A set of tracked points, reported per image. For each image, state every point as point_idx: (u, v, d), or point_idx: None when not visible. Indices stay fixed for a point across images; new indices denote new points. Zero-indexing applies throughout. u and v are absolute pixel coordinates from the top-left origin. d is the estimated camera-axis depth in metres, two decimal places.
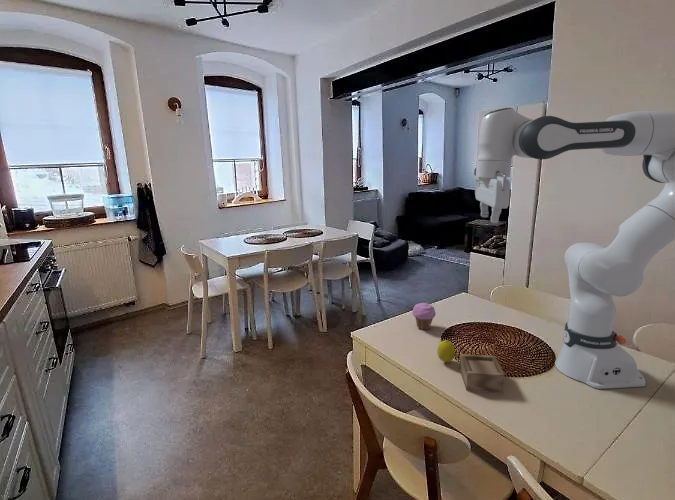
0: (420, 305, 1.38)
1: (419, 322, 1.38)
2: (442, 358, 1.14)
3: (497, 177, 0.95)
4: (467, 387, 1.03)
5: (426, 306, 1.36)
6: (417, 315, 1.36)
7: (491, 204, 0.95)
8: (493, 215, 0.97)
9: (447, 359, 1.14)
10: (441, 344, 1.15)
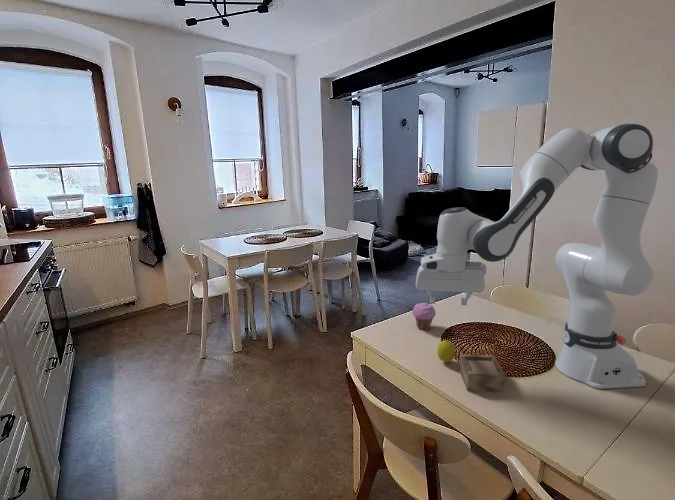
0: (420, 305, 1.38)
1: (419, 322, 1.38)
2: (442, 358, 1.14)
3: (469, 266, 1.07)
4: (468, 387, 1.02)
5: (426, 306, 1.36)
6: (417, 315, 1.36)
7: (474, 290, 1.07)
8: None
9: (447, 359, 1.14)
10: (441, 344, 1.15)
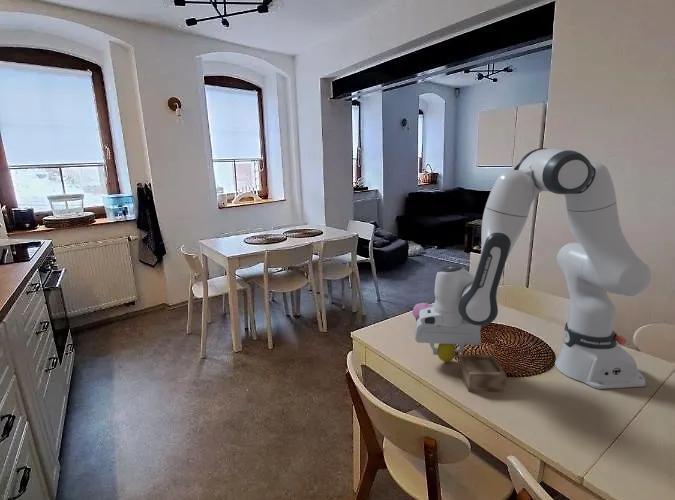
0: (420, 305, 1.38)
1: None
2: (442, 358, 1.14)
3: (466, 320, 1.12)
4: (469, 388, 1.02)
5: (426, 306, 1.36)
6: (417, 315, 1.36)
7: (471, 343, 1.12)
8: None
9: (447, 359, 1.14)
10: (441, 344, 1.15)
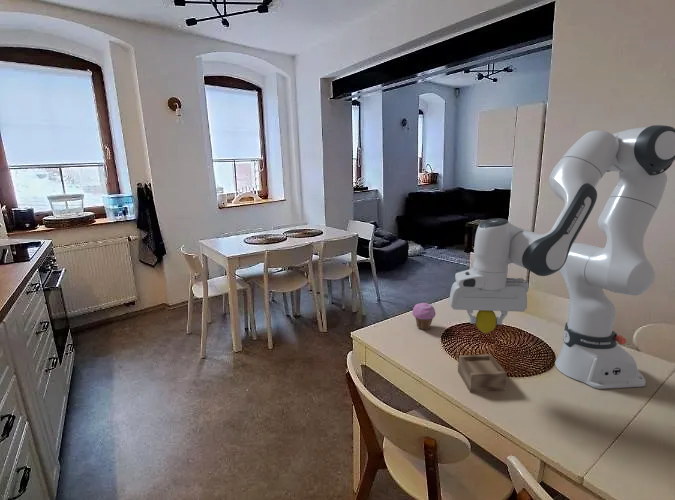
0: (420, 305, 1.38)
1: (419, 322, 1.38)
2: (482, 328, 1.00)
3: (510, 283, 0.98)
4: (471, 389, 1.02)
5: (426, 306, 1.36)
6: (417, 315, 1.36)
7: (515, 309, 0.98)
8: None
9: (488, 329, 1.00)
10: (480, 312, 1.01)
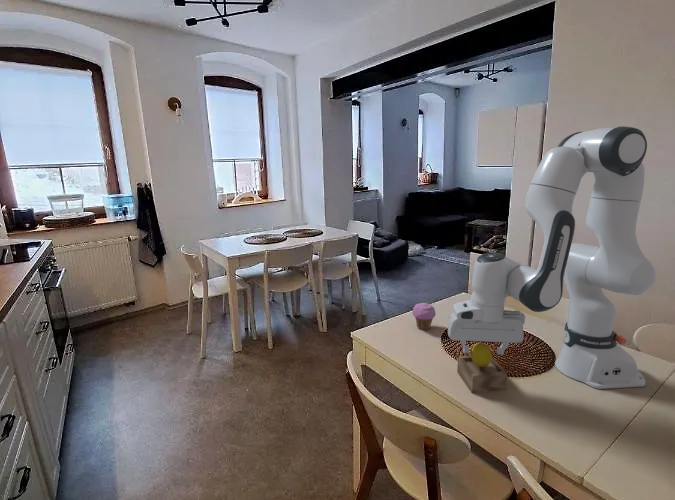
0: (420, 305, 1.38)
1: (419, 322, 1.38)
2: (477, 363, 1.03)
3: (507, 315, 1.00)
4: (472, 390, 1.01)
5: (426, 306, 1.36)
6: (417, 315, 1.36)
7: (512, 340, 1.00)
8: None
9: (483, 364, 1.03)
10: (475, 347, 1.04)
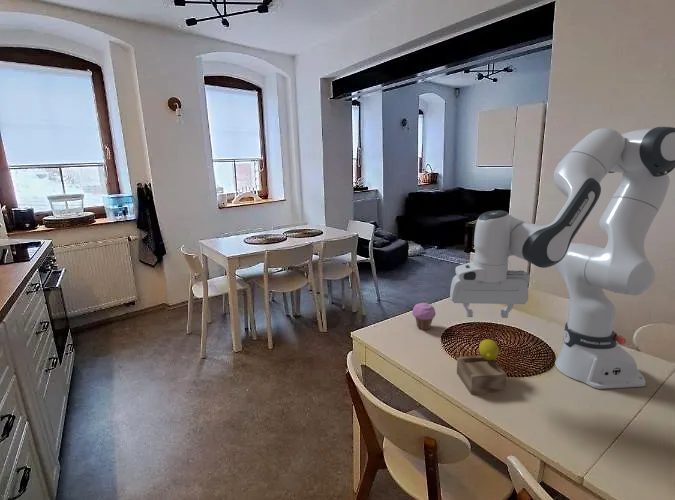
0: (420, 305, 1.38)
1: (419, 322, 1.38)
2: (491, 345, 1.06)
3: (511, 276, 0.97)
4: (471, 391, 1.01)
5: (426, 306, 1.36)
6: (417, 315, 1.36)
7: (516, 301, 0.97)
8: None
9: (496, 347, 1.06)
10: None
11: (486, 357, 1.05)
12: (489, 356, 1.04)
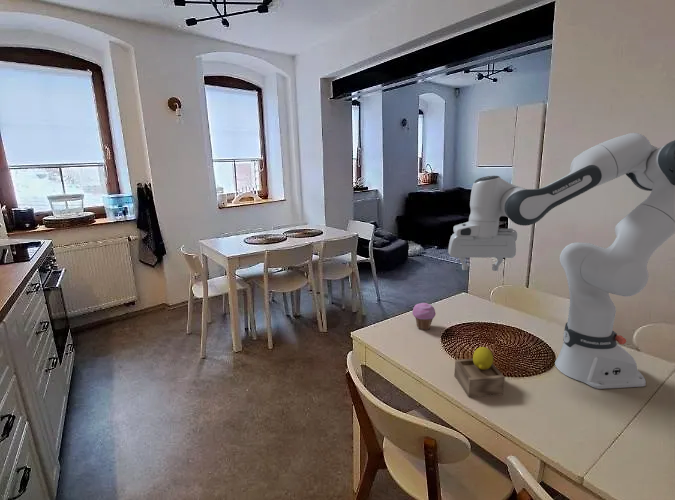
0: (420, 305, 1.38)
1: (419, 322, 1.38)
2: (483, 355, 1.03)
3: (501, 233, 1.12)
4: (469, 394, 1.00)
5: (426, 306, 1.36)
6: (417, 315, 1.36)
7: (506, 255, 1.12)
8: None
9: (488, 358, 1.02)
10: (480, 347, 1.07)
11: (479, 367, 1.03)
12: (481, 367, 1.02)
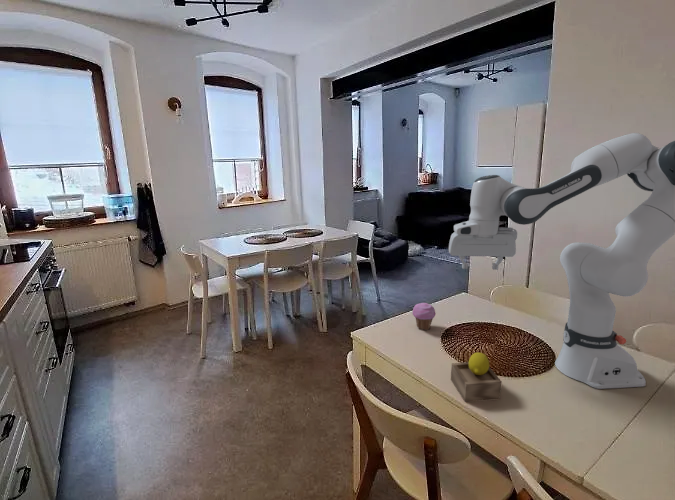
0: (420, 305, 1.38)
1: (419, 322, 1.38)
2: (479, 359, 1.00)
3: (501, 232, 1.13)
4: (465, 399, 0.98)
5: (426, 306, 1.36)
6: (417, 315, 1.36)
7: (506, 254, 1.13)
8: None
9: (485, 362, 1.00)
10: (477, 352, 1.05)
11: (474, 372, 1.01)
12: (477, 372, 0.99)
